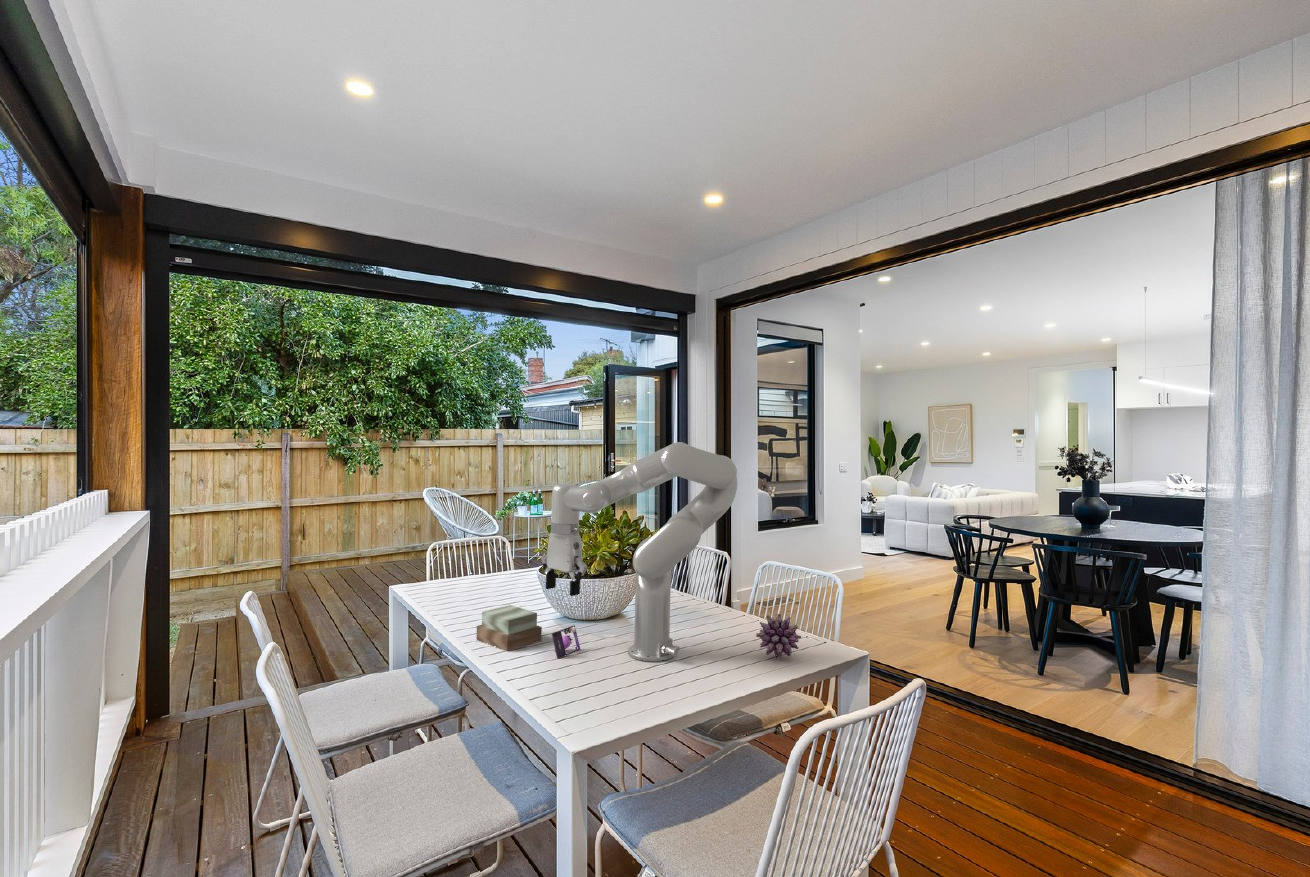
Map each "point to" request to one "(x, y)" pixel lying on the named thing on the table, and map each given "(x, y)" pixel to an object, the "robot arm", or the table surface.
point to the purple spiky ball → (778, 636)
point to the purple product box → (564, 641)
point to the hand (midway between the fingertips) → (562, 591)
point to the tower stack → (509, 628)
